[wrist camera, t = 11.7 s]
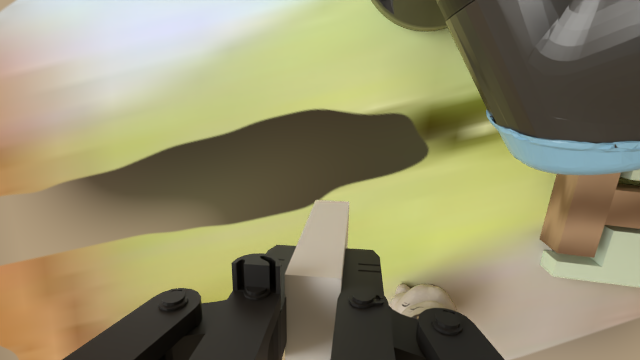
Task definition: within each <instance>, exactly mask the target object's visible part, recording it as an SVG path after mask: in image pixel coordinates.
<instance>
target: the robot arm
mask: <svg viewBox="0 0 640 360" xmlns="http://www.w3.org/2000/svg"><path fill="white" fill-rule="evenodd" d="M371 1H372V2H373V4H374V5H375V7H376V8H377V9H378V10H379V11H380V12H381V13H382V14H383V15H384V16H385V17H386V18H387V19H389V20H390V21H392V22H393V23H395V24H397V25H399V26H401V27H404V28H407V29H411V30H417V31H434V30H440V29H444V28H447V27H448V28H449V30H450V33H451V35H452V37H453V39H454V41H455V43H456V45H457V47H458V49H459V51H460V53H461V56H462V58H463V60H464V62H465V64H466V66H467V68H468V70H469V72H470V74H471V76H472V79H473V81H474V83H475V85H476V87H477V89H478V91H479V93H480V95H481V97H482V99H483V102H484V104H485V106H486V108H487V111H486V114H487V117H488V119H489V121H490V122H491V124H492V125H494V127H495V128H497V130H498V131H499V133H500V135H501V137H502V139H503V141H504V142H505V144H506V146H507V148H508V150H509V151H510V153H511V154H512V155H513V156H514V157H515V158H516V159H518V160H520V161H521V162H522V163H524V164H526V165H527V166H529V167H531V168H534V169H537V170H540V171H544V172H549V173H555V174H563V175H602V174H613V173H621V172H628V171H634V170H639V169H640V0H371ZM348 220H349V202H345V201H326V200H316V201H315V203H314V205H313V208H312V210H311V213H310V215H309V217H308V220H307V222H306V224H305V227H304V229H303V232H302V234H301V236H300V239H299V241H298V244H297V246H287V245H276V246H275V247H273V248H271V249H270V250H268V251H267V253H266V254H249V255H244V256H242V257H240V258H237V259H236V260H235V261H233V262H232V280H233V291H232V293H231V294H230V296H229V298H228V299H227V300H223V301H218V302H210V303H201V296H200V295H199V293H198V292H197V291H194V290H192V289H185V288H178V289H177V288H176V289H171V290H169V291H165V292H162V293H160V294H159V295H157V296H155V297H153V298H152V299H150V300H149V301H147V302H146V303H144V304H143V305H141V306H140V307H139V308H137V309H136V310H134V311H133V312H131V313H130V314H128V315H127V316H125V317H124V318H122V319H121V320H120V321H118V322H117V323H115V324H114V325H112V326H111V327H109V328H108V329H106V330H105V331H103V332H102V333H101V334H99V335H98V336H96V337H95V338H93V339H92V340H90V341H89V342H87V343H86V344H84V345H83V346H82V347H80V348H79V349H77V350H76V351H74V352H73V353H71V354H70V355H68V356H67V357H66V358H64V359H63V360H282V356H283V353H284V349H285V360H504V358H503V357H502V356H501V355H500V354H499V353H498V351H497V350H496V349H495V348H494V347H493V345H492V344H491V343H490V342H489V341H488V340H487V338H486V337H485V336H484V335H483V334H482V333H481V331H480V330H479V329H478V328H477V327H476V325H475V324H474V323H473V322H472V321H471V320H469V319H468V318H467V317H466V316H464V315H462V314H460V313H458V312H456V311H454V310H451V309H446V308H430V309H426V310H424V311H423V312H421V313H420V315H419V318H418V319H415V318H412V317H408V316H405V315H403V314H400V313H398V312H397V311H395V310H393V309H392V308H391V307H390V306H389V305H388V301H387V299H386V297H385V296H384V291H383V282H382V273H381V265H380V257H379V256H378V255H377V254H376V253H375V252H374V251H373V250H363V249H348V248H347V245H348Z"/></svg>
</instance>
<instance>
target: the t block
mask: <svg viewBox="0 0 640 360" xmlns="http://www.w3.org/2000/svg"><path fill="white" fill-rule="evenodd" d="M620 174H621V173H613V174H602V175H563V174H557V175H556V179H555V183H554V187H553V190H552V194H551V198H550V202H549V206H548V209H547V213H546V217H545V221H544V224H543V228H542V232H541V236H540V240H542V241H543V242H544V243H545V244H546V245H548V246H549V247H550V248H551V249H552V250H554V251H555V252H556V253H559V254H568V255H576V256H584V257H592V258H594V257H595V254H596V251H597V248H598V244H599V241H600V238H601V235H602V232H603V228H604V225H611V226H620V227H629V228H637V229H640V186H637V185H628V184H618V181H619V177H620Z"/></svg>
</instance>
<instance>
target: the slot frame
mask: <svg viewBox="0 0 640 360" xmlns="http://www.w3.org/2000/svg"><path fill="white" fill-rule="evenodd" d="M620 177H623V178H626V179H629V180H638V181H640V169H639V170H634V171H628V172H621V174H620ZM540 265H541V266H542V267H543V268H544V269H545V270H546V271H547V272H548V273H549V274H550V275H552V276H553V277H560V278H568V279H576V280H584V281H592V282H600V283H608V284H616V285H624V286H632V287H640V229H637V228H629V227H620V226H611V225H604V228H603V232H602V235H601V238H600V241H599V244H598V248H597V251H596V254H595V257H594V258H592V257H584V256H576V255H568V254H559V253H556V252H555V251H547V250H544V251H543V255H542V259H541V262H540Z"/></svg>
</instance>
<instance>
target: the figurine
mask: <svg viewBox="0 0 640 360" xmlns="http://www.w3.org/2000/svg"><path fill="white" fill-rule="evenodd" d="M391 308H392V309H393V310H395V311H397V312H398V313H400V314H403V315H405V316H408V317H412V318H415V319H418V318H419V315H420V313H421V312H423V311H424V310H426V309H430V308H446V309H451V310H454V311H456V312H457V309H456V307H455V305H454V303H453V302H452V300H451V299H450V297H449V296H448V294H447V293H446V292H445V291H444V290H443V289H442V288H440V287H437V286H433V285H431V284H428V285H425V284H419V285H416V286H414V287H413V288H410V287H408V286H407V285H406V284H400V285H398V287H397V290H396V295H395V296H394V297H393V299H392V301H391Z"/></svg>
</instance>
